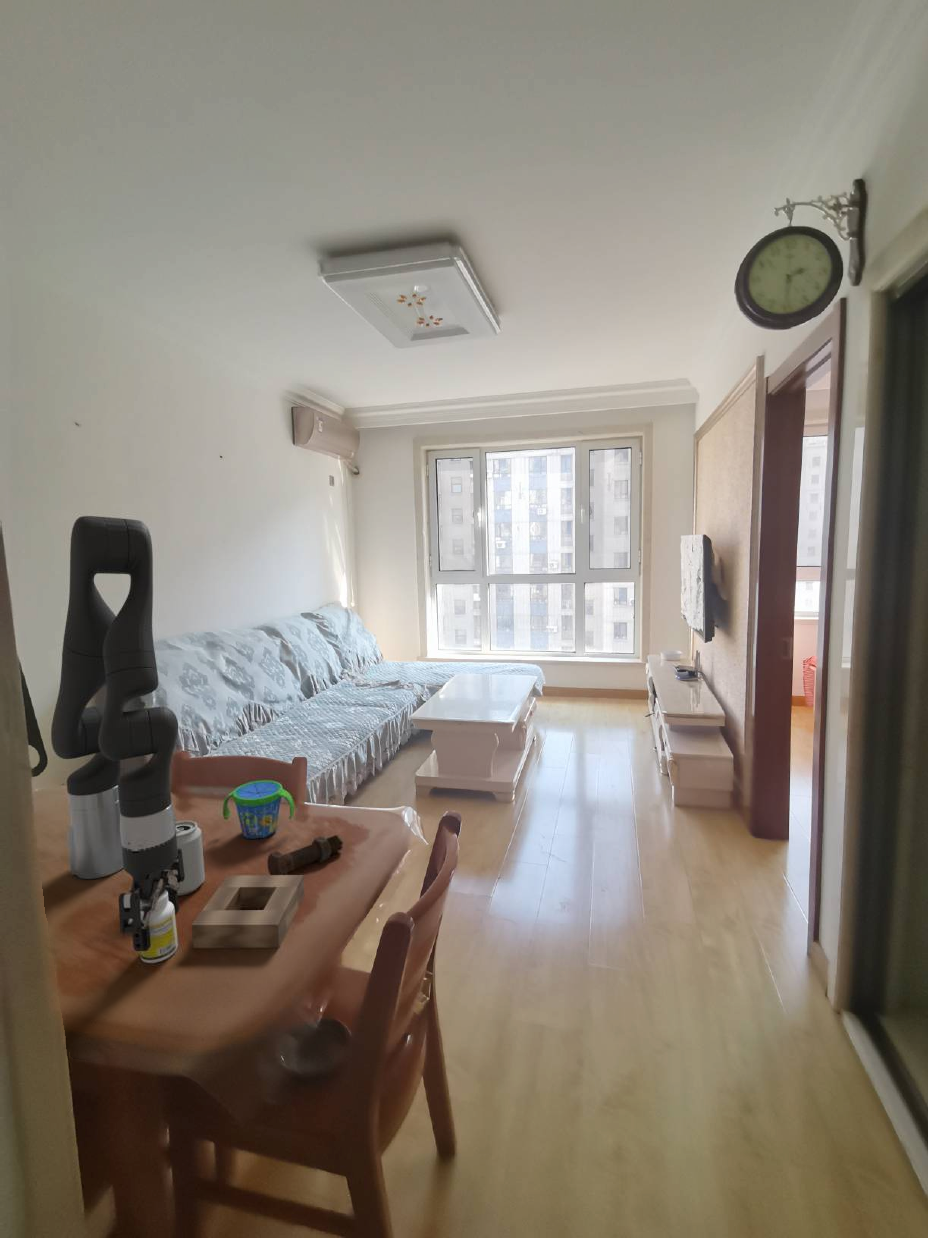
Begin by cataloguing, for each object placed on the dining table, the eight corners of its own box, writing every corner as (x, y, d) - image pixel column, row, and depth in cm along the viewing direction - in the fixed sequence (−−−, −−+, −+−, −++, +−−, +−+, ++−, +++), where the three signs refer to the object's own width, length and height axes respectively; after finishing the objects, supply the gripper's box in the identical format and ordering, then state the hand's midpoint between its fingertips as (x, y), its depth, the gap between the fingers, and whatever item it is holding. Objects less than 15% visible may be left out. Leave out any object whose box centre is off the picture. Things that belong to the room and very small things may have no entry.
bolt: (341, 860, 123) (275, 888, 112) (330, 841, 125) (264, 867, 115) (349, 842, 120) (282, 869, 110) (337, 823, 123) (271, 848, 112)
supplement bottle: (149, 942, 95) (144, 886, 94) (183, 940, 96) (178, 884, 94) (133, 966, 90) (127, 907, 88) (169, 963, 90) (164, 905, 89)
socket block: (193, 948, 94) (191, 925, 93) (229, 895, 107) (227, 875, 107) (279, 947, 93) (277, 924, 93) (304, 895, 107) (303, 875, 107)
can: (214, 879, 113) (209, 821, 111) (184, 901, 106) (179, 840, 104) (183, 872, 115) (179, 815, 114) (152, 894, 108) (147, 833, 107)
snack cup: (302, 822, 136) (300, 780, 134) (283, 845, 125) (280, 800, 124) (239, 819, 137) (236, 778, 136) (215, 842, 127) (212, 798, 126)
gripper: (150, 814, 97) (158, 904, 99) (95, 860, 83) (106, 963, 85) (194, 813, 97) (201, 903, 99) (147, 859, 83) (156, 963, 85)
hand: (157, 931), depth 92 cm, fingers open, 8 cm apart
